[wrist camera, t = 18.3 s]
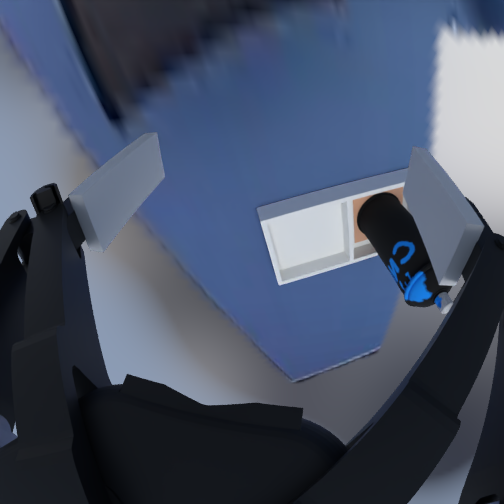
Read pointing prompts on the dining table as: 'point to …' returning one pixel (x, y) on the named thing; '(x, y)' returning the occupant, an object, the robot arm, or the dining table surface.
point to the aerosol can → (402, 251)
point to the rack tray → (323, 226)
